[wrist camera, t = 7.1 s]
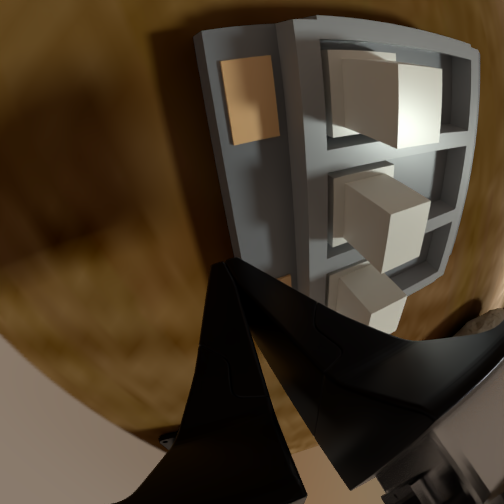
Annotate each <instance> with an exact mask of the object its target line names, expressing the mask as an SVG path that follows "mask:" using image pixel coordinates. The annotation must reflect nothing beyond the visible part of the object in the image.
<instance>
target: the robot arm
mask: <svg viewBox="0 0 504 504" xmlns="http://www.w3.org/2000/svg"><path fill="white" fill-rule="evenodd" d="M252 337H253V339H254V340H255V342H256V344H257V345H258V347H259V349H260V350H261V352H262V354H263V355H264V357H265V359H266V360H267V362H268V364H269V365H270V367H271V369H272V370H273V372H274V374H275V375H276V377H277V379H278V380H279V382H280V384H281V385H282V387H283V388H284V390H285V392H286V393H287V395H288V396H289V398H290V400H291V401H292V403H293V405H294V406H295V408H296V409H297V411H298V412H299V414H300V416H301V417H302V419H303V420H304V422H305V424H306V425H307V427H308V428H309V430H310V431H311V433H312V434H313V436H314V437H315V439H316V441H317V442H318V444H319V445H320V447H321V448H322V450H323V451H324V453H325V454H326V456H327V457H328V459H329V460H330V462H331V463H332V465H333V466H334V468H335V469H336V471H337V472H338V474H339V475H340V477H341V478H342V479H343V481H344V483H345V484H346V486H347V487H348V488H349V490H350V491H351V490H353V489H355V488H357V487H358V486H361V485H362V484H364V483H366V482H368V481H370V480H371V479H373V478H375V477H376V478H377V480H378V481H379V483H380V484H381V486H382V488H383V489H384V491H385V493H386V494H384V495H382V496H381V498H382V500H383V502H384V503H385V504H504V320H503V321H502V322H501V323H500V324H499V325H497V326H496V327H495V328H493V329H491V330H488V331H485V332H482V333H477V334H471V335H464V336H457V337H450V338H442V339H434V340H424V341H411V340H405V339H401V338H398V337H395V336H393V335H390V334H388V333H385V332H383V331H380V330H378V329H375V328H373V327H370V326H368V325H365V324H363V323H360V322H358V321H356V320H353V319H351V318H349V317H346V316H344V315H342V314H340V313H338V312H336V311H334V310H332V309H330V308H328V307H327V306H325V305H323V304H321V303H319V302H318V303H317V301H315V300H314V299H312V298H310V297H308V296H306V295H305V294H303V293H301V292H299V291H297V290H296V289H294V288H292V287H290V286H288V285H287V284H285V283H283V282H281V281H279V280H278V279H276V278H274V277H272V276H270V275H269V274H267V273H265V272H263V271H261V270H260V269H258V268H256V267H254V266H253V265H251V264H249V263H247V262H245V261H244V260H242V259H240V258H238V257H234V258H231V259H228V260H225V263H224V262H219V263H216V264H213V265H211V267H210V273H209V279H208V286H207V292H206V299H205V306H204V313H203V320H202V327H201V334H200V341H199V347H198V355H197V361H196V367H195V373H194V377H193V381H192V385H191V389H190V392H189V396H188V399H187V403H186V406H185V410H184V414H183V417H182V421H181V424H180V428H179V431H178V432H177V433H173V434H169V435H165V436H161V437H159V442H160V444H162V445H163V446H164V447H166V448H167V449H168V450H169V451H168V452H167V453H166V455H165V456H164V457H163V459H162V460H161V461H160V462H159V463H158V464H157V466H156V467H155V468H154V469H153V471H152V472H151V473H150V474H149V475H148V477H147V478H146V479H145V481H144V482H143V483H142V484H141V485H140V486H139V487H138V489H137V490H136V491H135V492H134V493H133V494H132V495H131V496H129V497H127V498H126V499H124V500H122V501H120V502H117V503H113V504H304V502H305V500H306V498H307V492H306V490H305V488H304V485H303V483H302V480H301V478H300V476H299V473H298V471H297V468H296V466H295V463H294V461H293V458H292V456H291V453H290V451H289V448H288V446H287V443H286V441H285V438H284V436H283V433H282V430H281V428H280V425H279V423H278V420H277V417H276V415H275V412H274V409H273V405H272V402H271V399H270V396H269V392H268V389H267V386H266V383H265V379H264V376H263V373H262V369H261V366H260V363H259V359H258V356H257V352H256V349H255V346H254V342H253V339H252Z"/></svg>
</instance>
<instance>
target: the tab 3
mask: <svg viewBox="0 0 504 504" xmlns="http://www.w3.org/2000/svg"><path fill="white" fill-rule="evenodd" d="M406 298H407V295H406V294H405V293H404V292H403V291H402V290H401V289H400V288H399V287H398V286H397V285H396V284H395V283H394V282H393V281H392V280H391V279H390V278H389V277H388V276H387V275H386V274H385V273H382V274H381V273H380V272H379V271H378V270H377V269H376V268H375V267H374V266H373V265H371V264H370V263H369V262H368V261H367V260H366V259H363V260H360V261H358V262H355V263H353V264H350V265H348V266H345V267H343V268H340V269H338V270H335V271H333V272H330V273H327V274H326V290H325V306H327V307H328V308H330V309H332V310H334V311H336V312H338V313H340V314H342V315H344V316H346V317H349V318H351V319H353V320H356V321H358V322H360V323H363V324H365V325H368V326H370V327H373V328H375V329H378V330H380V331H383V332H385V333H388V334H390V333H392V332H394V331H396V329H397V326H398V323H399V320H400V317H401V314H402V311H403V308H404V305H405V301H406Z"/></svg>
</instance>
